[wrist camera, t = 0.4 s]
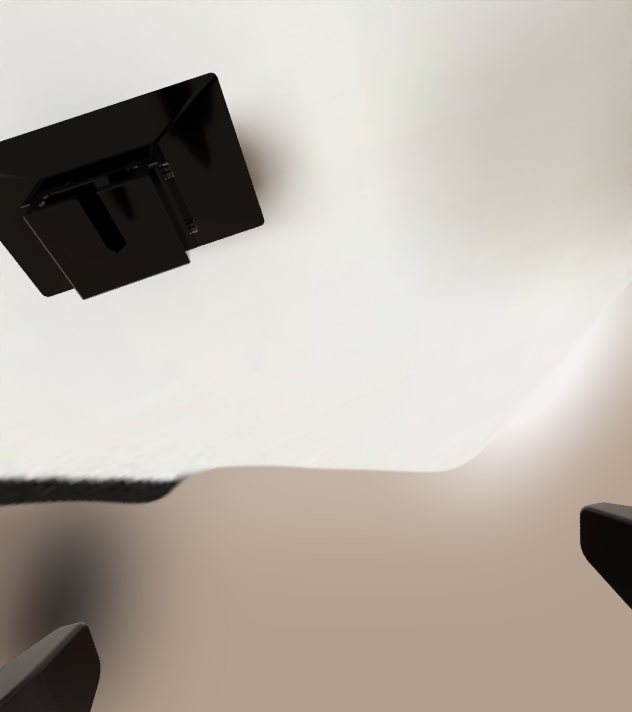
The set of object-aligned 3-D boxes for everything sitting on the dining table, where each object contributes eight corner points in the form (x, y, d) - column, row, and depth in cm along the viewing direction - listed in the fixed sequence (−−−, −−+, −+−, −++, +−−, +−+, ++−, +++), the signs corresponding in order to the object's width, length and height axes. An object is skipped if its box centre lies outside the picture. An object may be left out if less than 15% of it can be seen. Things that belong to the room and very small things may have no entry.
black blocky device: (248, 29, 14) (278, 39, 11) (299, 229, 19) (331, 278, 16) (-130, 145, 13) (-226, 195, 10) (26, 323, 18) (-3, 397, 15)
